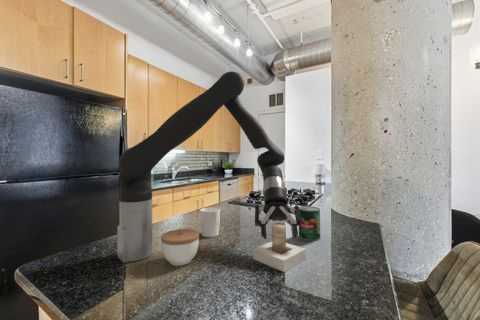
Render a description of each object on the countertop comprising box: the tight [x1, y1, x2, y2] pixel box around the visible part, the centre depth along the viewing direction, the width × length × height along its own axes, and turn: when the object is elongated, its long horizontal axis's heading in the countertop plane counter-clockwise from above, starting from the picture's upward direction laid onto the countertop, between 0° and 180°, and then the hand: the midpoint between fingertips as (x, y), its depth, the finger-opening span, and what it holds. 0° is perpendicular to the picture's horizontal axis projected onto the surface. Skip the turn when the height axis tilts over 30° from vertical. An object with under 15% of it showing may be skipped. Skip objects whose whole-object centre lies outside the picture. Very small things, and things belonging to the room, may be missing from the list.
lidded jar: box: [160, 227, 200, 267], centre depth 65 cm, size 11×11×9 cm
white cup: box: [199, 206, 221, 238], centre depth 88 cm, size 8×8×10 cm
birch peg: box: [271, 222, 287, 254], centre depth 66 cm, size 4×4×10 cm
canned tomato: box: [298, 205, 322, 242], centre depth 85 cm, size 8×8×11 cm
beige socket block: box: [252, 241, 307, 273], centre depth 66 cm, size 11×11×3 cm
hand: (280, 238), depth 64 cm, fingers open, 8 cm apart
